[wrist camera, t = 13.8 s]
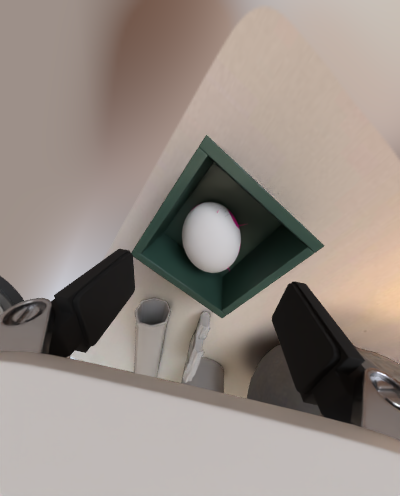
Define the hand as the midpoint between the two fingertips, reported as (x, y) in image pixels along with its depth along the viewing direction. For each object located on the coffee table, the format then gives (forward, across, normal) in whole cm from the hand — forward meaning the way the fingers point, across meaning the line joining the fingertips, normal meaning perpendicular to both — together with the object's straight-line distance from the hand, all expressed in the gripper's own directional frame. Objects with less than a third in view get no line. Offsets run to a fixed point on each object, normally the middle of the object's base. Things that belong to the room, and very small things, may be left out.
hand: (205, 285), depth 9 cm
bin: (+11, -1, 0) cm, 11 cm away
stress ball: (+11, -1, 0) cm, 11 cm away
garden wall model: (+11, -1, +20) cm, 23 cm away
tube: (+12, +8, +26) cm, 30 cm away
